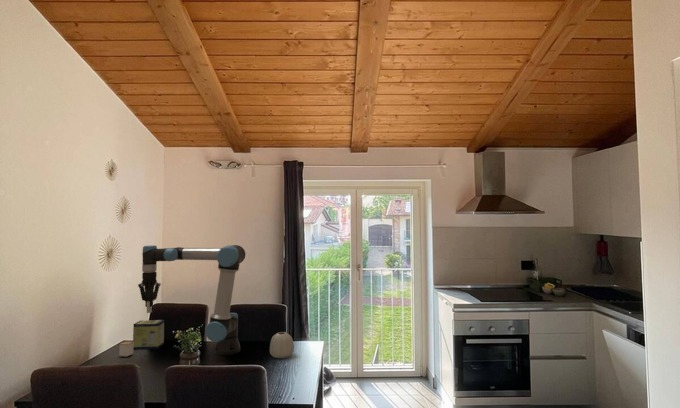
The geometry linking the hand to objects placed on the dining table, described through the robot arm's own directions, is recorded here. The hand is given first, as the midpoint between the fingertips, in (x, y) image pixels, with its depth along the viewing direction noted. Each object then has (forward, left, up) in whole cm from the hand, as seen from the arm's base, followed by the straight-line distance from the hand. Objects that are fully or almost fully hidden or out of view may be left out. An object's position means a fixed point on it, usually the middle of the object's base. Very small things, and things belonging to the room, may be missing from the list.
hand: (149, 312), depth 225 cm
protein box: (+12, -20, -26) cm, 35 cm away
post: (+14, -1, -26) cm, 29 cm away
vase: (-77, -7, -26) cm, 82 cm away
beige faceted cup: (+14, -1, -25) cm, 28 cm away
